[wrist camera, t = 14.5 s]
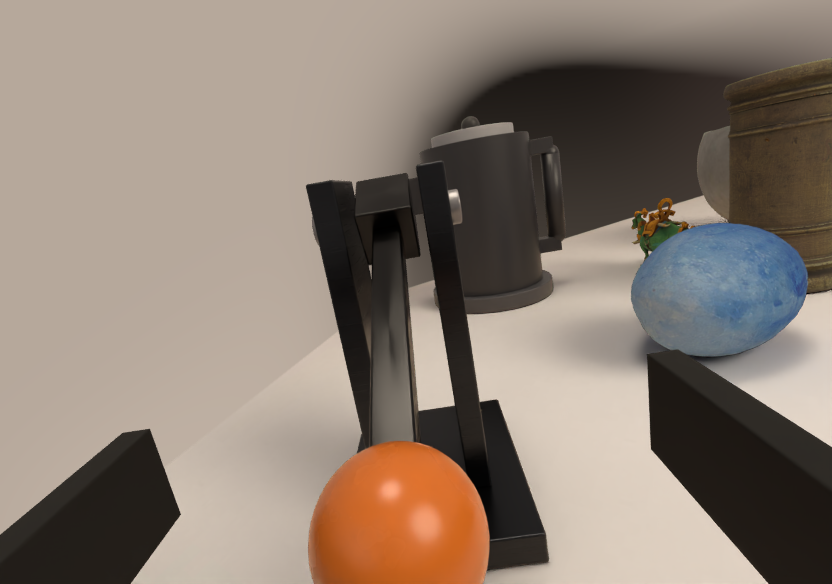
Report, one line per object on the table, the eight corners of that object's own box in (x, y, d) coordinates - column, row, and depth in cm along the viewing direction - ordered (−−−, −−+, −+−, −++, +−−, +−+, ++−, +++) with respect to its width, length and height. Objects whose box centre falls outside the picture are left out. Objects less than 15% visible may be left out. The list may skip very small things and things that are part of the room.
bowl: (960, 224, 47) (980, 77, 43) (758, 252, 49) (762, 116, 46) (809, 210, 66) (815, 109, 63) (671, 231, 69) (669, 135, 65)
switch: (509, 654, 8) (506, 612, 6) (331, 674, 9) (260, 642, 6) (433, 228, 20) (421, 155, 17) (357, 241, 20) (335, 171, 17)
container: (768, 301, 35) (775, 66, 31) (700, 278, 44) (697, 92, 40) (881, 283, 35) (904, 42, 30) (790, 263, 43) (797, 74, 39)
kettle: (428, 323, 45) (393, 120, 40) (426, 291, 58) (400, 137, 54) (592, 296, 44) (577, 86, 39) (552, 270, 58) (537, 111, 53)
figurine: (645, 258, 55) (643, 195, 53) (718, 276, 44) (718, 196, 42) (623, 263, 55) (620, 199, 53) (689, 281, 43) (688, 201, 41)
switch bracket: (549, 563, 16) (500, 144, 12) (337, 589, 16) (230, 193, 12) (500, 418, 25) (465, 162, 22) (368, 437, 26) (313, 190, 22)
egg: (816, 174, 29) (694, 224, 22) (881, 289, 28) (775, 377, 21) (694, 226, 37) (578, 275, 30) (742, 318, 36) (632, 389, 29)
